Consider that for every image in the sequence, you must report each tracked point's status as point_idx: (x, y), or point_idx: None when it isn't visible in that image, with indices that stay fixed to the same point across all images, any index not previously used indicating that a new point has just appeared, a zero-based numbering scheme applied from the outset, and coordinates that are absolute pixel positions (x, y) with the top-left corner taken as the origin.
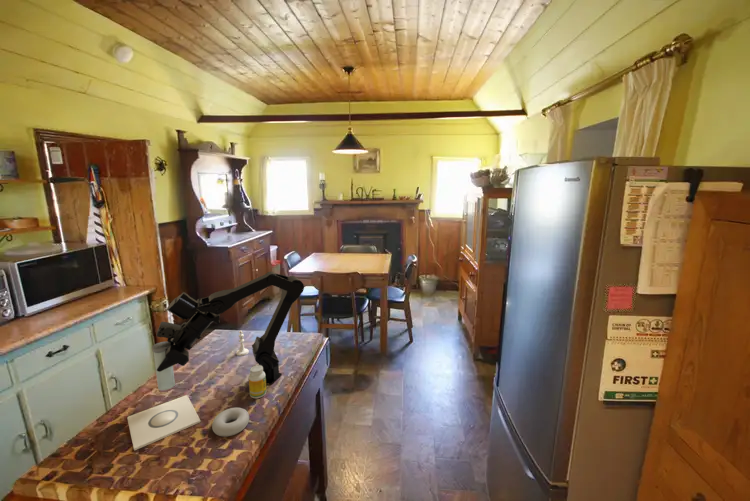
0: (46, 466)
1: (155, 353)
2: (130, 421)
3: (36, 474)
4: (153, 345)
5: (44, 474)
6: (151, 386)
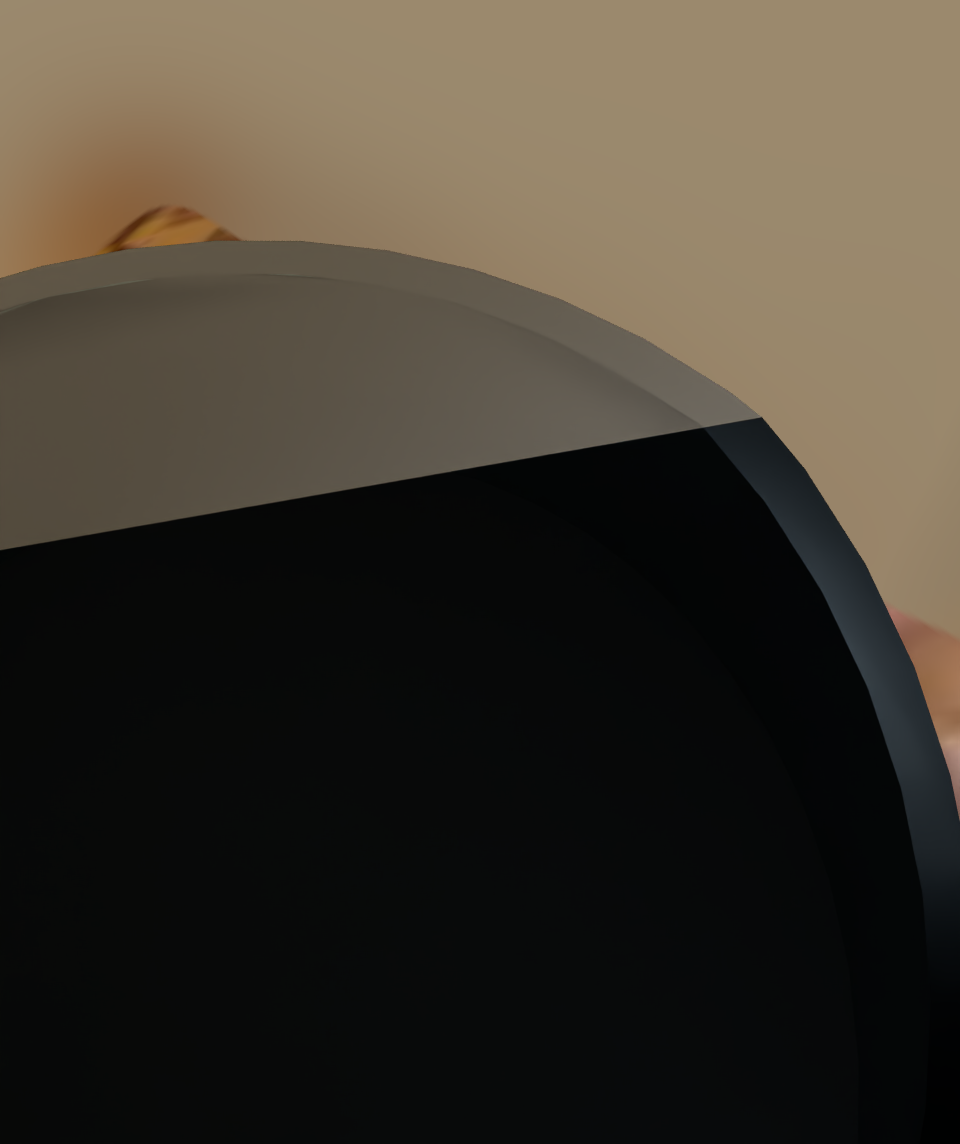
0: (216, 236)
1: (24, 605)
2: None
3: (180, 217)
4: (475, 296)
5: (153, 245)
6: (927, 665)
